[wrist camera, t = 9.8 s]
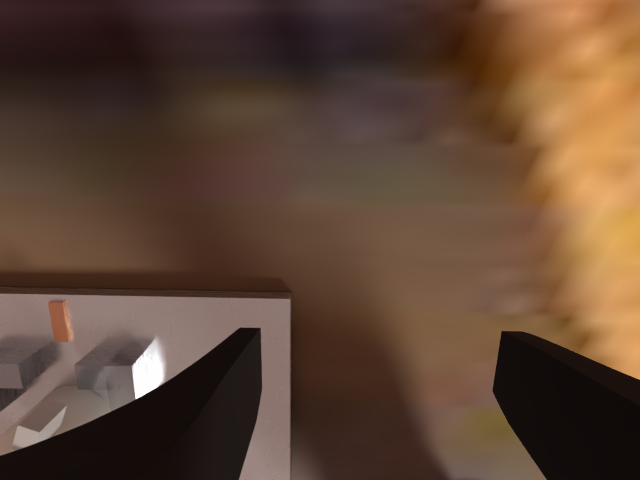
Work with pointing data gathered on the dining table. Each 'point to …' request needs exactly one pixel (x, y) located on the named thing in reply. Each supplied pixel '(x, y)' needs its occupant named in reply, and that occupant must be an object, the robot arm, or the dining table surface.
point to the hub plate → (143, 351)
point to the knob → (54, 417)
